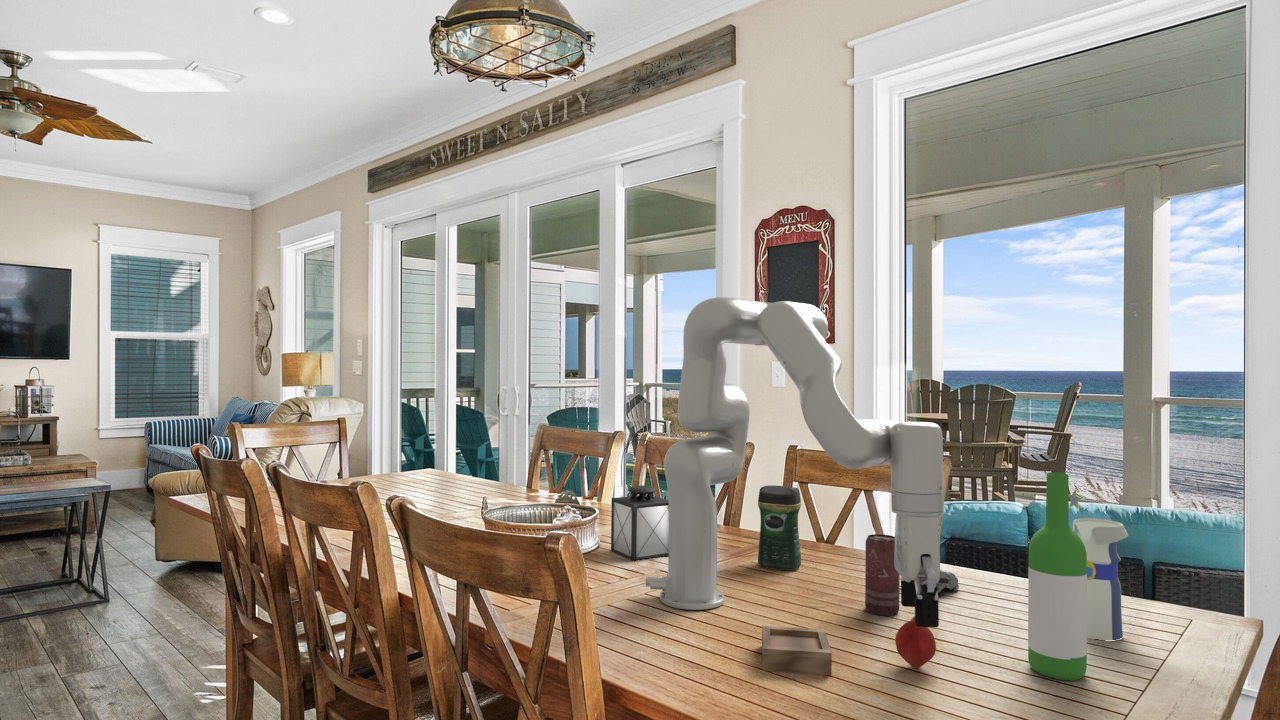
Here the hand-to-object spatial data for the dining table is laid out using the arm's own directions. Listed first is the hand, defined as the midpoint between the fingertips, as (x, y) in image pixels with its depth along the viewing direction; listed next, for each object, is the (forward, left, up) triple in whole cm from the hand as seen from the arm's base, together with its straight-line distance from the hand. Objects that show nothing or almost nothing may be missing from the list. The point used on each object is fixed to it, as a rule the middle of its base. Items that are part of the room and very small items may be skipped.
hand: (919, 615), depth 113 cm
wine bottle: (+21, +2, -8) cm, 22 cm away
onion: (0, 0, -8) cm, 8 cm away
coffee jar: (-18, +56, -8) cm, 60 cm away
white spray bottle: (+35, +21, -8) cm, 41 cm away
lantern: (-51, +62, -8) cm, 81 cm away
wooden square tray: (-18, 0, -8) cm, 20 cm away
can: (0, +27, -8) cm, 29 cm away
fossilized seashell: (+12, +42, -9) cm, 45 cm away
